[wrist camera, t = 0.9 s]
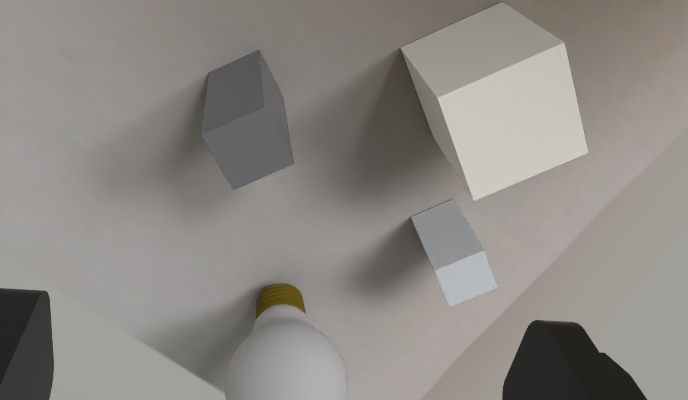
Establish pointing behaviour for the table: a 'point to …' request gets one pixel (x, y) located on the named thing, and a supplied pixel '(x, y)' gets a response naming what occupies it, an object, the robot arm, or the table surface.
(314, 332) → the light bulb
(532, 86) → the off-white rectangular block
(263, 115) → the post
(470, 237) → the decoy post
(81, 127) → the table surface
